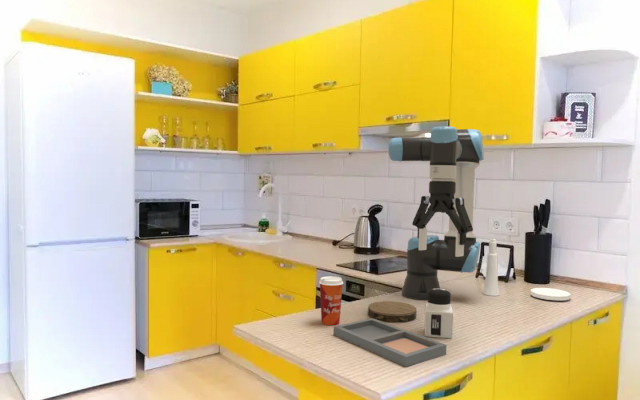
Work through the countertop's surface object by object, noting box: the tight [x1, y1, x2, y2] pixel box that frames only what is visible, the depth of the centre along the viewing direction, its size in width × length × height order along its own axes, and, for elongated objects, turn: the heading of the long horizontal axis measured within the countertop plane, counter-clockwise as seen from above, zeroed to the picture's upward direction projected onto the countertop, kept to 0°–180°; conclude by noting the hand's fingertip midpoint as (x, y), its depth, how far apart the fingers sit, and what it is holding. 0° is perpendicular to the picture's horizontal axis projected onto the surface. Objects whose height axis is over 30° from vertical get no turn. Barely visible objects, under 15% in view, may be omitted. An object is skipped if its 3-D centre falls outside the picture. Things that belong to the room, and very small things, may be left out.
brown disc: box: [367, 300, 417, 324], centre depth 161 cm, size 16×16×3 cm
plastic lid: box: [530, 287, 572, 301], centre depth 189 cm, size 14×14×2 cm
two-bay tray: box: [333, 317, 447, 368], centre depth 134 cm, size 28×15×2 cm, turn 37°
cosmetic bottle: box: [482, 238, 500, 297], centre depth 192 cm, size 6×6×22 cm
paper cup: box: [318, 275, 344, 326], centre depth 152 cm, size 8×8×14 cm
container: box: [424, 288, 454, 339], centre depth 143 cm, size 8×8×13 cm
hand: (440, 253), depth 142 cm, fingers open, 13 cm apart
